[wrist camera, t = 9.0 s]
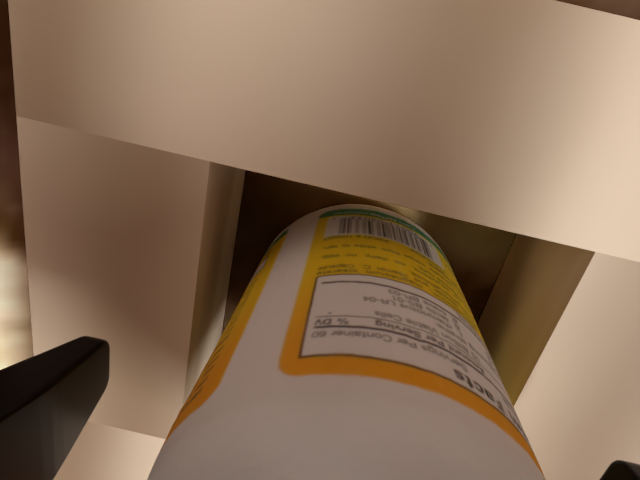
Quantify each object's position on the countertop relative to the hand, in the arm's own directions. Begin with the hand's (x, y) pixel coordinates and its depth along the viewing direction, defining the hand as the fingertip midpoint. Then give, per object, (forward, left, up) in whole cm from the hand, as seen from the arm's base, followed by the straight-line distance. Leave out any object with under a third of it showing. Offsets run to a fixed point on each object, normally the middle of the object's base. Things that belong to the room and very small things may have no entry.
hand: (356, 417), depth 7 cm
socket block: (0, 0, -4) cm, 4 cm away
